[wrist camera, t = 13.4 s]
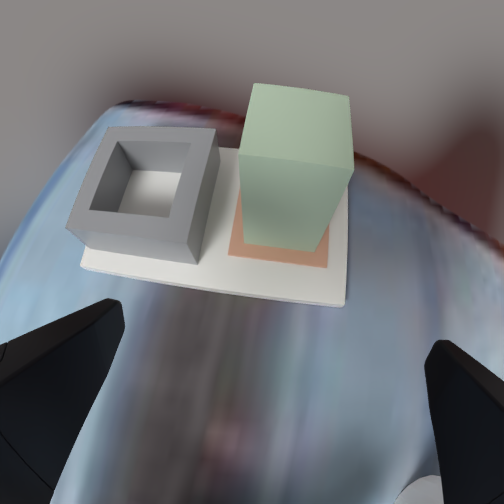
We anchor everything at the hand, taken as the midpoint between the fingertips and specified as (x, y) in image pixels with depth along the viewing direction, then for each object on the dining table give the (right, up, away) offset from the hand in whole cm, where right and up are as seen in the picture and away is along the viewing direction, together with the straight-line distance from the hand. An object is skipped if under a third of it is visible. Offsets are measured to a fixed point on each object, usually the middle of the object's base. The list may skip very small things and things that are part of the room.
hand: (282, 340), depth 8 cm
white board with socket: (-4, +5, +16) cm, 18 cm away
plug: (+1, +5, +15) cm, 16 cm away
